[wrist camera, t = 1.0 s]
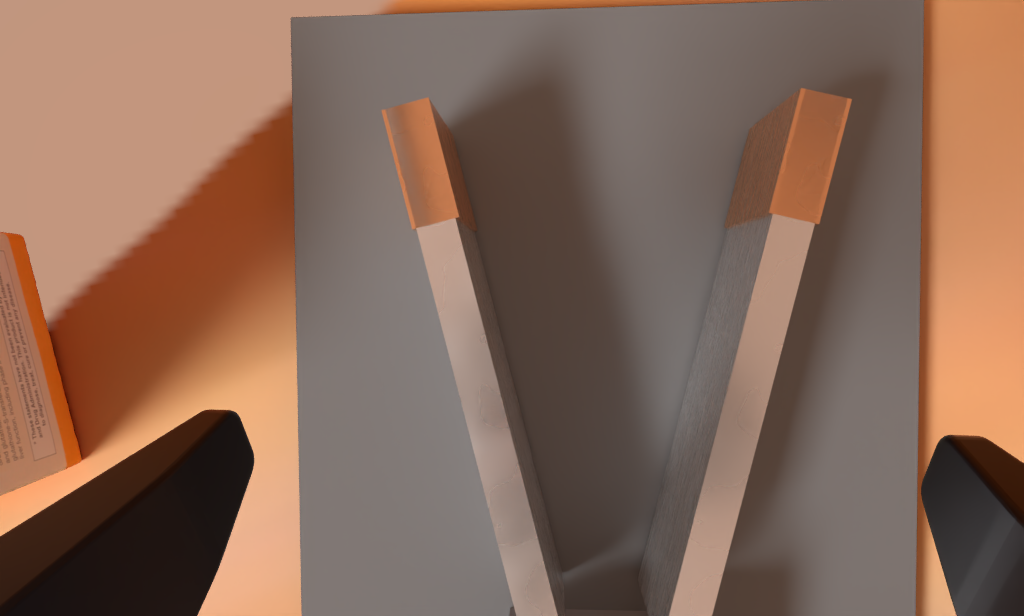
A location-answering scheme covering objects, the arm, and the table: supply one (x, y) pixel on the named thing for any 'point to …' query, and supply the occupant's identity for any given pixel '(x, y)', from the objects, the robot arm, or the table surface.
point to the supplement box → (28, 380)
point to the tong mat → (603, 300)
